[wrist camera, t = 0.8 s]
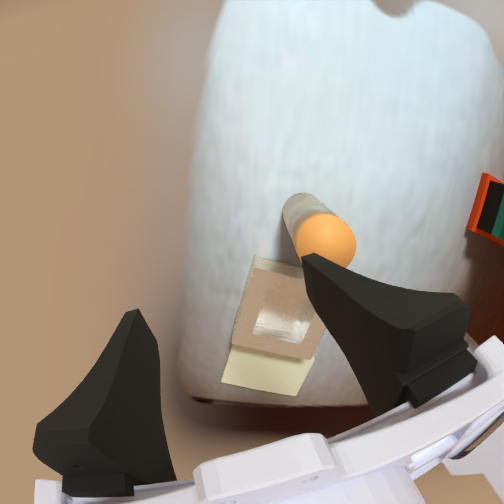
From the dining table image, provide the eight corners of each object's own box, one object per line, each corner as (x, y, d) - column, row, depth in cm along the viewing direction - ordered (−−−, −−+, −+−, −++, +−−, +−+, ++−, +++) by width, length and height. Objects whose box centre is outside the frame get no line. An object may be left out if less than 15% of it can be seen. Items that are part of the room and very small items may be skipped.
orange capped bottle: (327, 199, 27) (364, 228, 18) (314, 236, 29) (343, 281, 19) (289, 187, 27) (308, 210, 18) (277, 226, 28) (289, 267, 19)
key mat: (314, 356, 33) (314, 358, 32) (295, 393, 35) (295, 396, 34) (234, 339, 32) (233, 341, 32) (221, 379, 34) (221, 382, 34)
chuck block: (334, 276, 30) (342, 289, 27) (306, 342, 32) (310, 360, 29) (254, 255, 29) (254, 267, 26) (232, 326, 32) (231, 343, 29)
